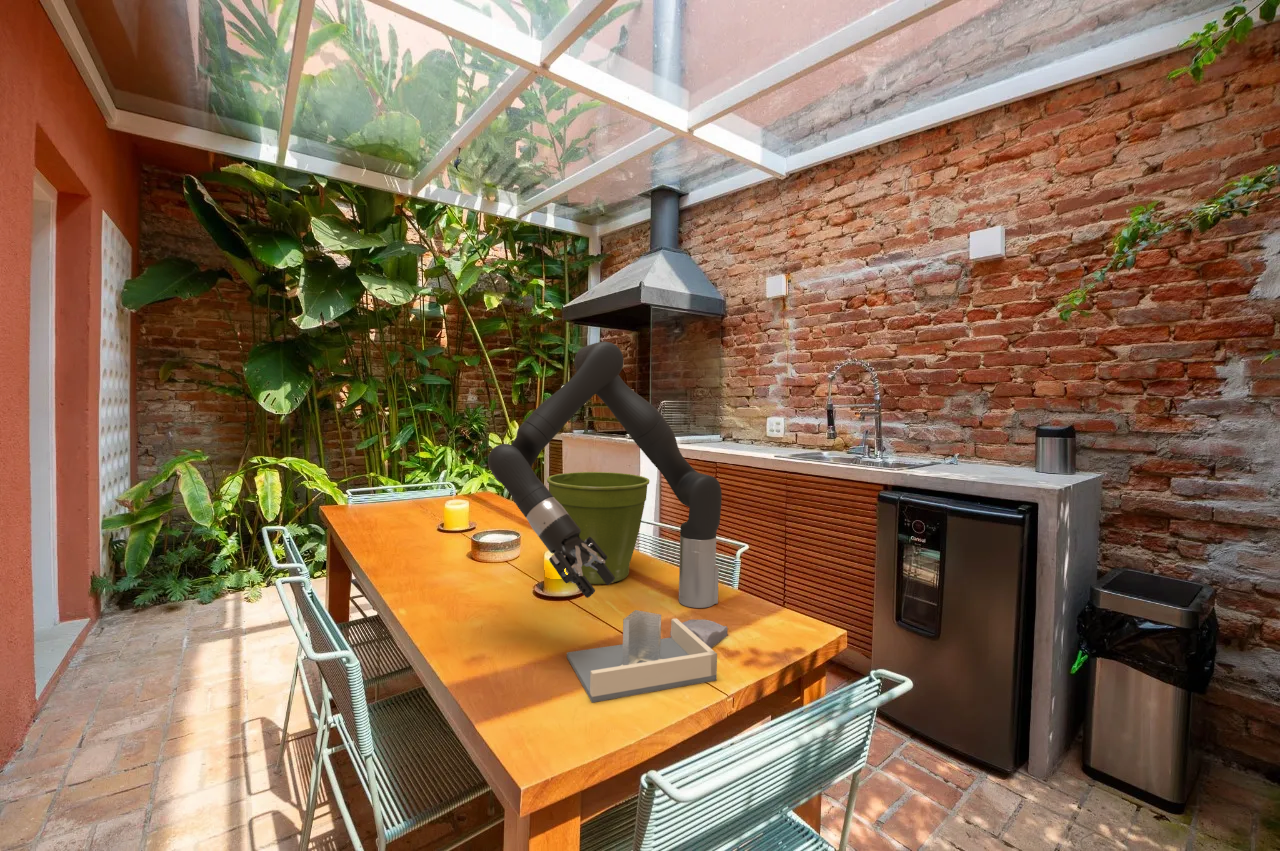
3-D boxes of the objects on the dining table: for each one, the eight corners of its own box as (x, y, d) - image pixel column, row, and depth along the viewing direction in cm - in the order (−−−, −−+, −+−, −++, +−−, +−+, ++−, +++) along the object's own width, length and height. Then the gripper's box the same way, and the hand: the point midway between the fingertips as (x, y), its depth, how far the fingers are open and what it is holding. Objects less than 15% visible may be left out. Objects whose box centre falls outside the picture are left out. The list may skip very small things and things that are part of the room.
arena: (676, 641, 122) (676, 618, 122) (716, 680, 106) (717, 653, 105) (566, 657, 114) (567, 632, 114) (592, 702, 97) (592, 673, 97)
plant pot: (524, 575, 165) (525, 477, 164) (596, 555, 188) (598, 469, 187) (597, 600, 146) (598, 489, 145) (668, 575, 169) (670, 479, 167)
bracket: (634, 654, 113) (635, 609, 113) (660, 660, 111) (661, 614, 110) (622, 666, 108) (623, 619, 107) (649, 672, 106) (650, 624, 105)
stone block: (665, 649, 121) (708, 653, 116) (664, 626, 122) (706, 629, 117) (690, 639, 131) (731, 642, 126) (689, 617, 132) (729, 619, 127)
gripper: (545, 519, 109) (597, 587, 105) (582, 507, 122) (629, 567, 118) (521, 543, 111) (571, 611, 107) (560, 529, 124) (606, 588, 120)
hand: (602, 588), depth 112 cm, fingers open, 8 cm apart
